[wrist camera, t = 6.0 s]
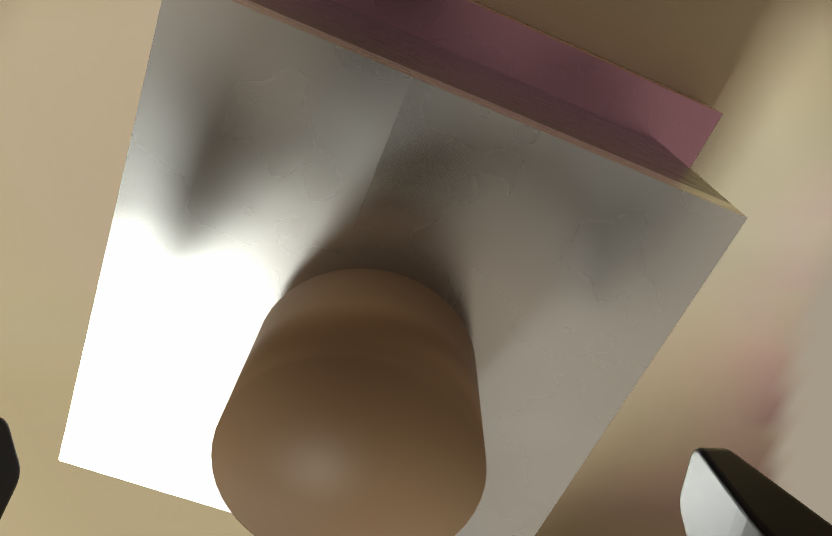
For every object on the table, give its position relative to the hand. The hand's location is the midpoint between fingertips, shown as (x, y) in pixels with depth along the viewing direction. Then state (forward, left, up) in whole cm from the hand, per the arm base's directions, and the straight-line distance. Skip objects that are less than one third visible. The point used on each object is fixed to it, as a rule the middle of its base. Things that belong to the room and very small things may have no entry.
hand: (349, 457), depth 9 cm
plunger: (0, 0, -7) cm, 7 cm away
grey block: (0, 0, -8) cm, 8 cm away
